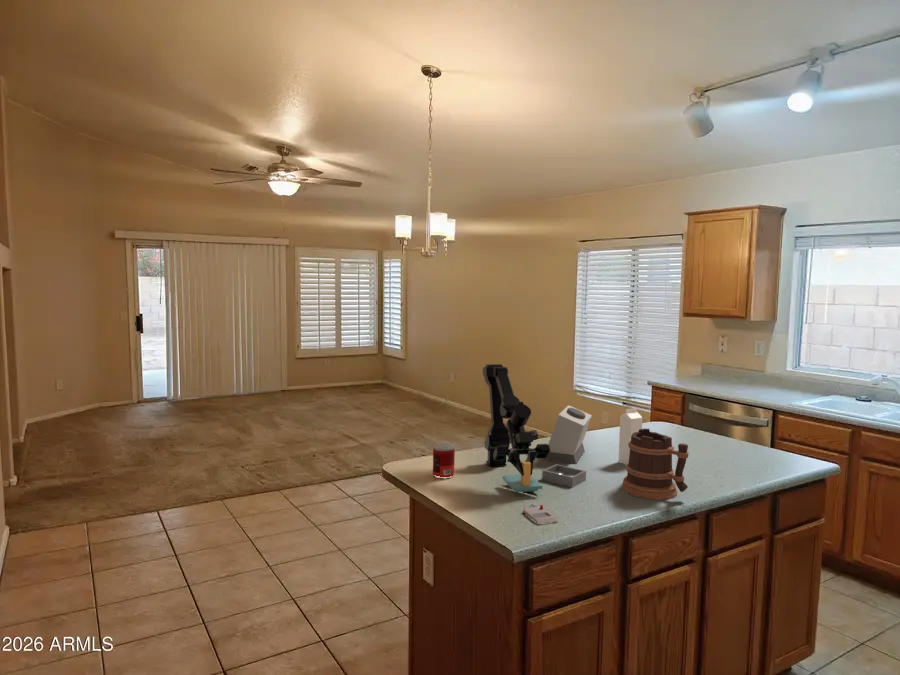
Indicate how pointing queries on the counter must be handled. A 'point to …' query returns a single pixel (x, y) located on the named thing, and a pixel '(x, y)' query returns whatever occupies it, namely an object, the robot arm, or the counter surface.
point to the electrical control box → (539, 514)
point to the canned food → (443, 460)
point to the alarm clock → (568, 436)
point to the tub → (563, 479)
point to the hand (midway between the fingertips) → (527, 475)
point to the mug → (654, 466)
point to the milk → (628, 432)
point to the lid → (523, 480)
